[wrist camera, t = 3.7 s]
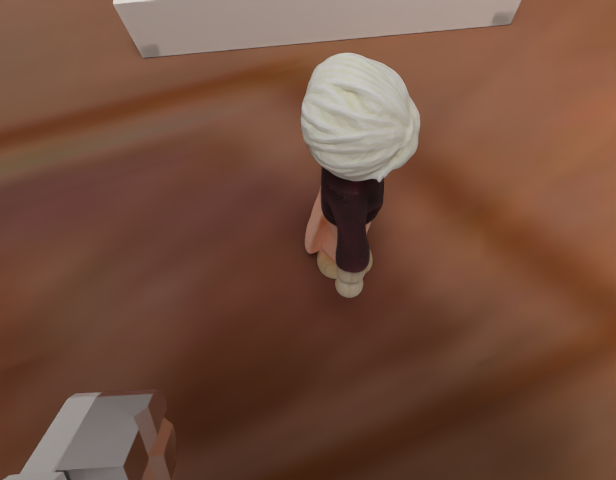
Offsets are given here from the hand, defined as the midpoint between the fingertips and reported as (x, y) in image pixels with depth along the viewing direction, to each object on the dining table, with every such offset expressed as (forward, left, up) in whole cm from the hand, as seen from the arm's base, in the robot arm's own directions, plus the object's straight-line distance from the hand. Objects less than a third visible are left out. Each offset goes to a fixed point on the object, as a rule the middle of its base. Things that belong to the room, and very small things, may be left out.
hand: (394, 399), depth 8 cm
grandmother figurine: (0, +7, -14) cm, 16 cm away
